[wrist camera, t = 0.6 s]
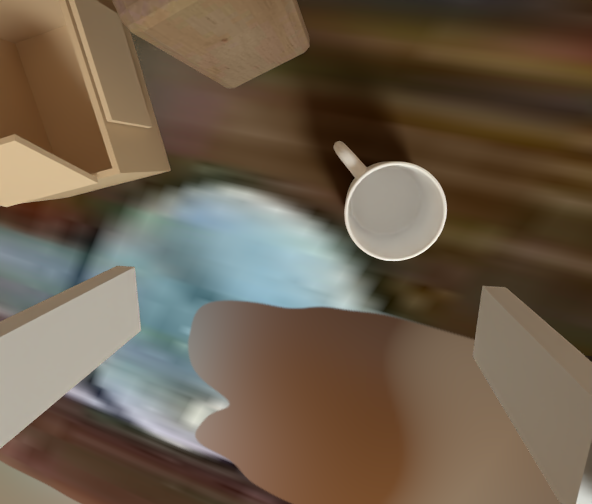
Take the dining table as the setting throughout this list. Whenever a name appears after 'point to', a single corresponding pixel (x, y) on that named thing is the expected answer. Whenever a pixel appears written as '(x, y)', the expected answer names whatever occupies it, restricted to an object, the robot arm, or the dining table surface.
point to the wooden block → (220, 34)
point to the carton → (78, 90)
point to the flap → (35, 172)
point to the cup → (392, 207)
